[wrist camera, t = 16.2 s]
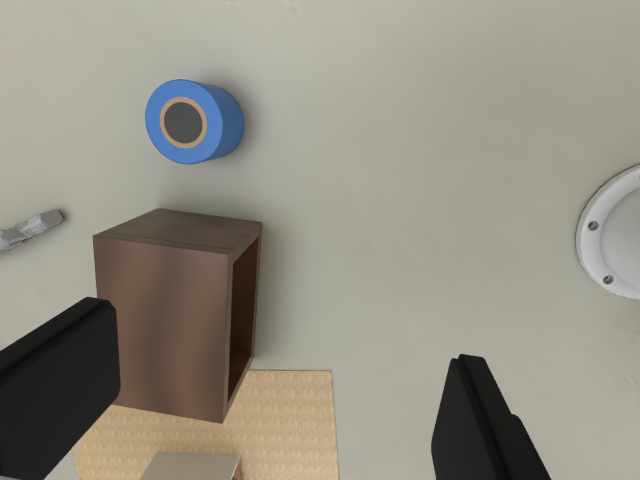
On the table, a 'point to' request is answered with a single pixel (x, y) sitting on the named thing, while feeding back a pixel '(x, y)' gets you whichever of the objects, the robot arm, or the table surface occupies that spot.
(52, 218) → the lattice window wall
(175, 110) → the tape
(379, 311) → the table surface
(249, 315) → the brown boxy piece
